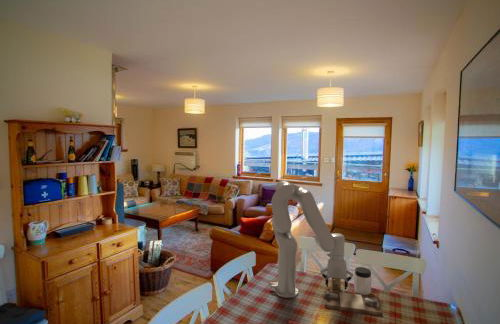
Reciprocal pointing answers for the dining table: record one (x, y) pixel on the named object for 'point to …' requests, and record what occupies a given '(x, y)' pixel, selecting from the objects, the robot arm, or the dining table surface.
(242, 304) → the dining table surface
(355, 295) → the coupling jig
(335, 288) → the brass coupler
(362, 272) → the jar
